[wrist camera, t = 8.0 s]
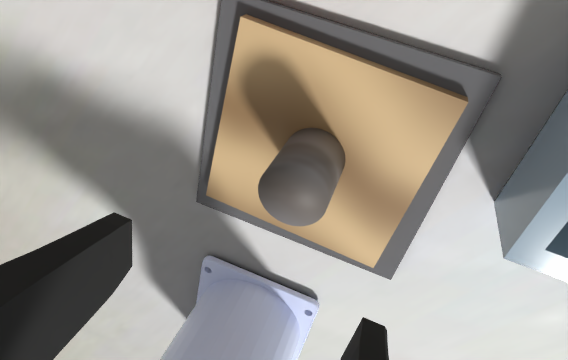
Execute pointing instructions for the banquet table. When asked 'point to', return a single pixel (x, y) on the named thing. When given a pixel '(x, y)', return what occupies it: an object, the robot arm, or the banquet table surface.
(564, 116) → the blue-grey square box
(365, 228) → the lid
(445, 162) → the mat
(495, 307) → the banquet table surface
